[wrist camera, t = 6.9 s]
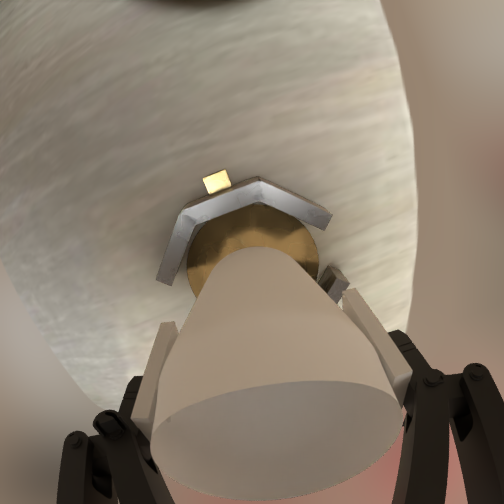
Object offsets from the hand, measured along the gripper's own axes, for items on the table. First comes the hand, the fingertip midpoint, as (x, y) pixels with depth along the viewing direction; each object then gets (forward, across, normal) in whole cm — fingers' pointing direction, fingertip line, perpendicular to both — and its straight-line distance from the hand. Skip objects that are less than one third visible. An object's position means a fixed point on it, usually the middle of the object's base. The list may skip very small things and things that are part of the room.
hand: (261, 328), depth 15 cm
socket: (+8, 0, 0) cm, 8 cm away
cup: (+4, 0, 0) cm, 4 cm away
